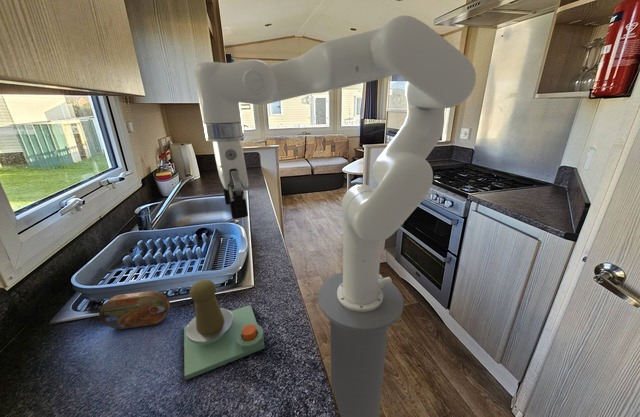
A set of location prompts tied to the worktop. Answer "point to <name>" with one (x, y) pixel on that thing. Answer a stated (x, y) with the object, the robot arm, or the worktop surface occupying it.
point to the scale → (222, 345)
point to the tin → (134, 310)
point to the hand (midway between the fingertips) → (236, 210)
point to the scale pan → (214, 336)
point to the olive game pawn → (206, 307)
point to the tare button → (249, 332)
